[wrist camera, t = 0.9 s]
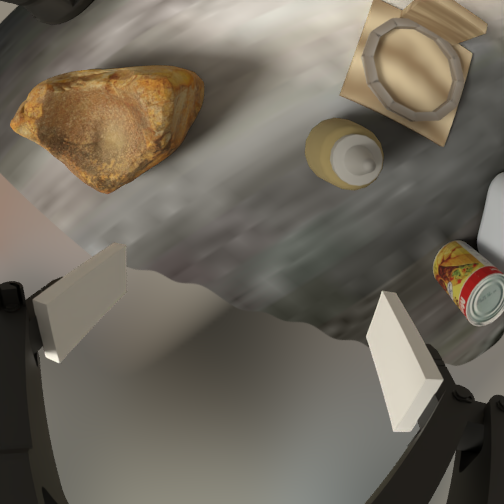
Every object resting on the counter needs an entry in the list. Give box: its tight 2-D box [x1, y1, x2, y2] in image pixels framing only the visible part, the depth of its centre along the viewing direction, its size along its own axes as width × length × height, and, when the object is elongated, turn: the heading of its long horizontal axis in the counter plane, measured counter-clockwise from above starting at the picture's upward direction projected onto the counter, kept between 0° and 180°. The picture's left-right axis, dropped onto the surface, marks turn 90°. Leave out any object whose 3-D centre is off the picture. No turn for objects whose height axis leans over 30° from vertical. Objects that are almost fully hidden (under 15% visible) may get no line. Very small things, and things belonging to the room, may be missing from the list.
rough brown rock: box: [10, 65, 204, 194], centre depth 34 cm, size 23×17×15 cm
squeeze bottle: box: [305, 118, 384, 190], centre depth 31 cm, size 8×8×18 cm
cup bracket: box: [340, 0, 488, 147], centre depth 29 cm, size 16×16×11 cm
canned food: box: [433, 240, 504, 326], centre depth 38 cm, size 8×8×12 cm
